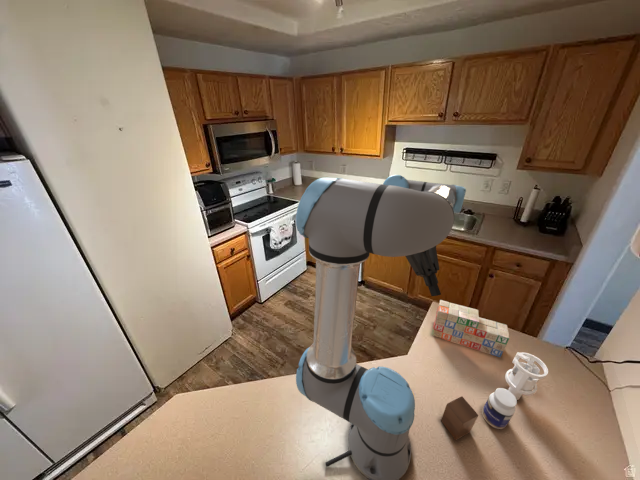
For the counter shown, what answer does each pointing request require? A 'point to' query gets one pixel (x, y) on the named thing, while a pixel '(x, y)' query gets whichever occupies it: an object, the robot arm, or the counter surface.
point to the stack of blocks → (469, 329)
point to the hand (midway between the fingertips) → (436, 295)
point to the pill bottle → (499, 408)
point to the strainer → (525, 375)
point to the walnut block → (459, 417)
